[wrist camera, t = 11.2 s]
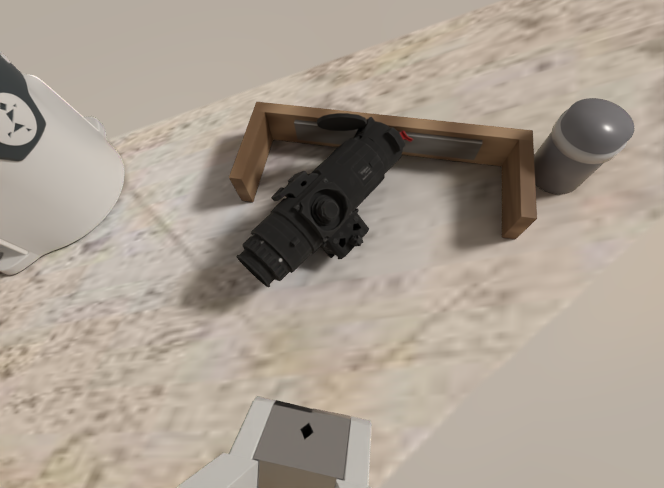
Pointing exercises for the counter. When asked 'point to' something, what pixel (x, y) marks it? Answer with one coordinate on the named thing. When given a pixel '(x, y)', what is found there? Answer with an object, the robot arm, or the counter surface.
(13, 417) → the counter surface
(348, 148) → the night vision scope
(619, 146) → the gray domed cylinder
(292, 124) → the bracket
